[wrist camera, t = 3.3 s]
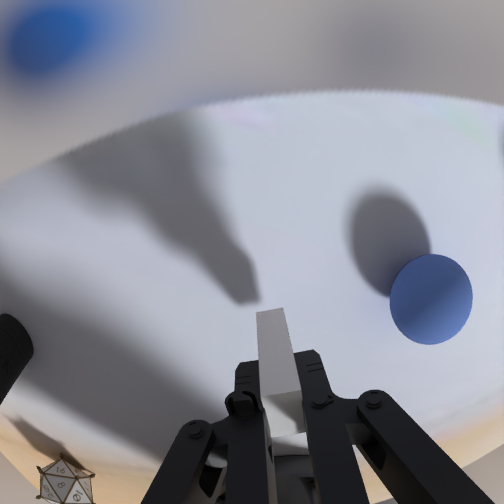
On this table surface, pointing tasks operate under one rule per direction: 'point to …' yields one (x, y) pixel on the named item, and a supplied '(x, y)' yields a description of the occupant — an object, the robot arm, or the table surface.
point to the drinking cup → (12, 352)
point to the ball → (431, 299)
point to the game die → (65, 484)
